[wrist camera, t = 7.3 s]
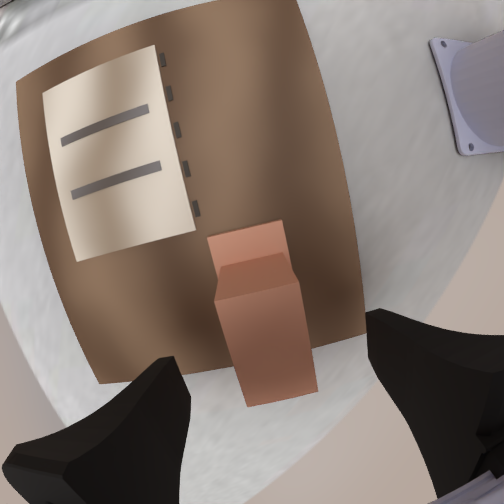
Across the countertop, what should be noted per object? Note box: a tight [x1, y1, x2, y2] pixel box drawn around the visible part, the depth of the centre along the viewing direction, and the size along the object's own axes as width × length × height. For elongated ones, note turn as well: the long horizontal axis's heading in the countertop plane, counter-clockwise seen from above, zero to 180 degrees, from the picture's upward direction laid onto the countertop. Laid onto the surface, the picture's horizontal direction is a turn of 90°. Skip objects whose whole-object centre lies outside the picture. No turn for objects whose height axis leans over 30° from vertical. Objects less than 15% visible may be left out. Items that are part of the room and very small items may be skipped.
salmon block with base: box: [207, 219, 318, 407], centre depth 14 cm, size 4×8×5 cm, turn 13°
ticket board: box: [16, 0, 367, 384], centre depth 15 cm, size 17×20×2 cm
